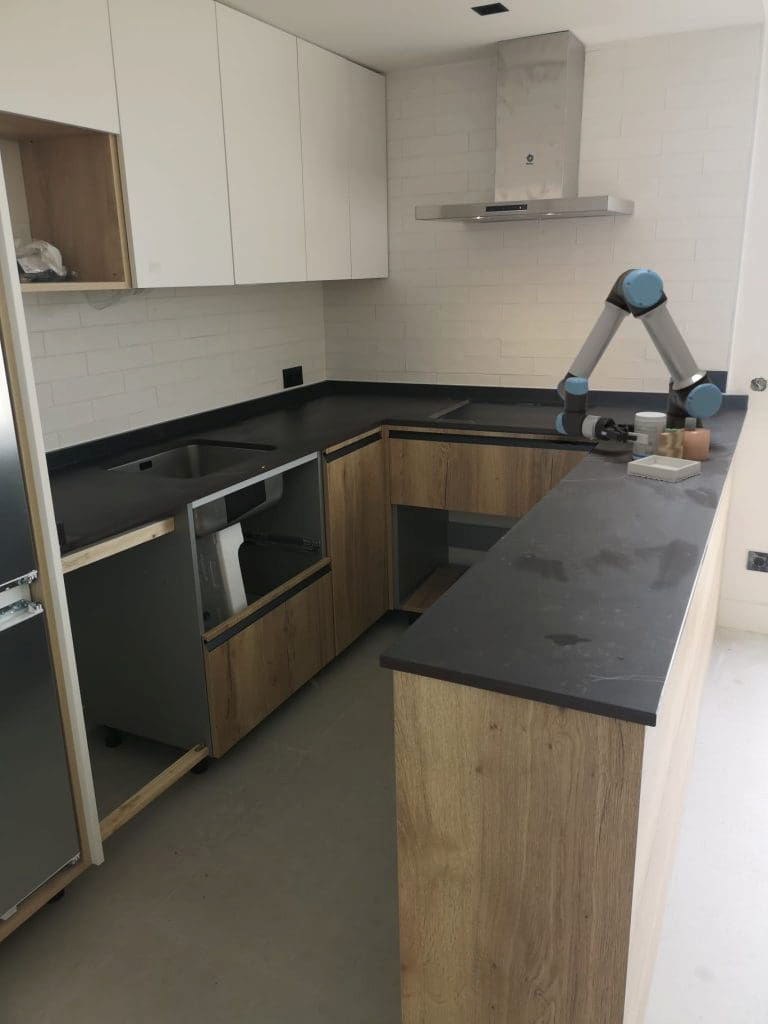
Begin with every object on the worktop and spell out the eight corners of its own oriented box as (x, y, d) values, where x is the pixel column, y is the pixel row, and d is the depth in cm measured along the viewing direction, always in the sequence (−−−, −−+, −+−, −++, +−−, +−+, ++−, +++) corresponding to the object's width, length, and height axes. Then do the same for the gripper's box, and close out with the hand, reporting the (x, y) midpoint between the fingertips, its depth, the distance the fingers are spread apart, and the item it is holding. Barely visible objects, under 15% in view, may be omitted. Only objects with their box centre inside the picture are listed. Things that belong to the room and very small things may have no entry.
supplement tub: (647, 455, 262) (650, 410, 258) (670, 460, 254) (674, 414, 250) (625, 459, 258) (628, 413, 254) (648, 464, 250) (651, 417, 246)
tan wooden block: (676, 459, 255) (678, 426, 252) (681, 460, 254) (685, 427, 251) (656, 466, 248) (659, 432, 245) (662, 467, 246) (665, 433, 243)
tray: (653, 465, 248) (653, 454, 247) (699, 473, 237) (700, 462, 236) (627, 474, 238) (627, 462, 237) (674, 482, 228) (675, 470, 227)
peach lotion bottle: (686, 453, 264) (689, 414, 260) (712, 457, 257) (716, 417, 254) (672, 458, 258) (676, 418, 254) (699, 462, 251) (703, 421, 248)
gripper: (619, 434, 276) (677, 442, 261) (577, 444, 259) (636, 454, 244) (620, 412, 274) (679, 419, 259) (578, 421, 257) (638, 430, 242)
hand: (658, 436), depth 251 cm, fingers open, 13 cm apart
